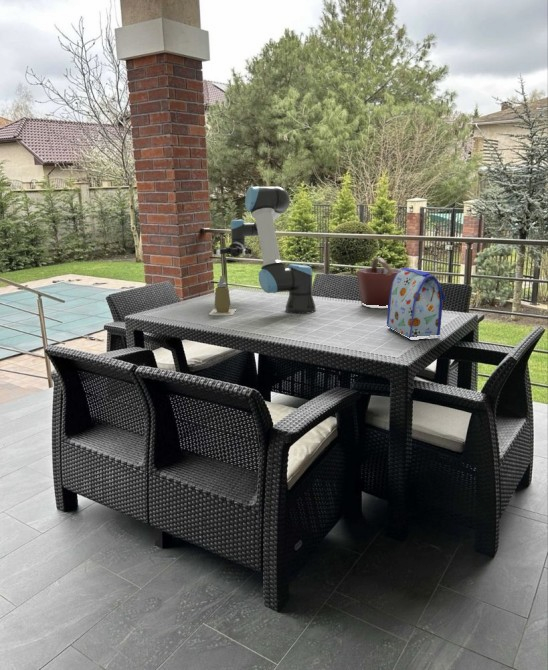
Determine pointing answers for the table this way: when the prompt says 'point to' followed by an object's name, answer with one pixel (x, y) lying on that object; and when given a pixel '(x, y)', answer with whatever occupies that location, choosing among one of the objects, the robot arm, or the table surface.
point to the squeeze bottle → (222, 296)
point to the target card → (214, 312)
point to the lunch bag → (415, 304)
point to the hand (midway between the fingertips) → (230, 253)
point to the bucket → (376, 283)
